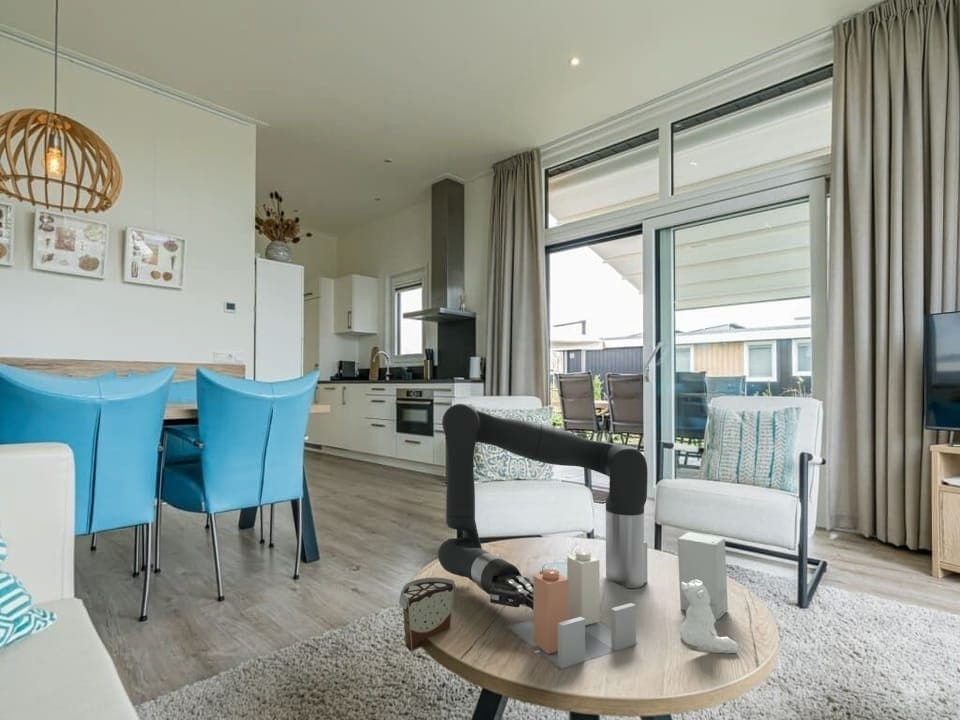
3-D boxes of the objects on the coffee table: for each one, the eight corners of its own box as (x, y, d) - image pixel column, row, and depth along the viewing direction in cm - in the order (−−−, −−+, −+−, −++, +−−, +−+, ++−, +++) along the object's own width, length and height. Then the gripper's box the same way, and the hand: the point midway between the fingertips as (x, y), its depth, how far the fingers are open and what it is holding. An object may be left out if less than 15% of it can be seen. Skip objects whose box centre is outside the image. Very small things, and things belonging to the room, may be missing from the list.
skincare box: (728, 611, 112) (727, 538, 113) (717, 621, 107) (717, 545, 108) (689, 600, 118) (688, 530, 118) (677, 609, 113) (676, 536, 113)
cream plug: (584, 612, 107) (584, 548, 108) (599, 621, 103) (599, 554, 104) (567, 617, 105) (567, 551, 106) (581, 626, 101) (581, 558, 102)
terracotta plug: (553, 636, 97) (553, 565, 97) (568, 647, 93) (568, 573, 93) (533, 642, 95) (533, 570, 95) (548, 653, 91) (548, 578, 91)
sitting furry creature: (741, 654, 94) (740, 586, 95) (703, 662, 91) (703, 593, 92) (702, 630, 103) (701, 569, 104) (666, 637, 100) (666, 574, 101)
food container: (435, 621, 106) (436, 571, 107) (456, 632, 102) (456, 580, 102) (385, 642, 98) (386, 588, 98) (404, 654, 93) (405, 597, 94)
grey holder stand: (577, 613, 110) (577, 574, 110) (638, 650, 95) (638, 604, 96) (503, 633, 101) (503, 591, 101) (557, 677, 86) (557, 627, 87)
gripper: (468, 563, 108) (513, 593, 93) (521, 553, 114) (571, 579, 99) (467, 600, 108) (513, 636, 93) (521, 588, 114) (571, 620, 99)
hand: (543, 606), depth 96 cm, fingers closed
